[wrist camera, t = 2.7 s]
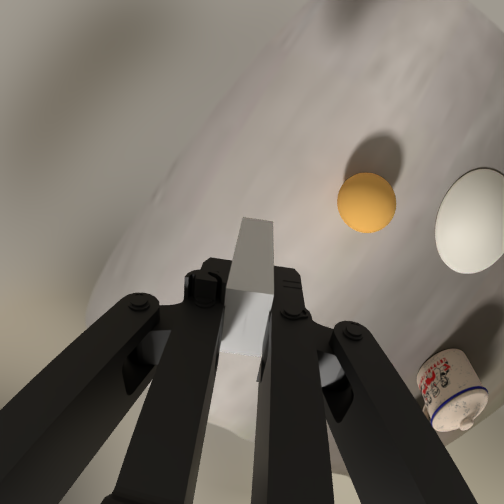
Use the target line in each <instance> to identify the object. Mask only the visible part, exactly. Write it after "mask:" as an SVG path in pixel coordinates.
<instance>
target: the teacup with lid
mask: <svg viewBox="0 0 504 504" xmlns="http://www.w3.org/2000/svg"><path fill="white" fill-rule="evenodd" d="M417 384H418V386H419V389H420V391H421V394H422V396H423V399H424V402H425V405H424V407H423V412H424V414H425V416H426V417H427V419H428V420H429V415H430V418H431V423H430V424H431V425H432V427H433V428H434V429H435V430H437V431H441V432H446V431H452V430H455V429H457V428H460V429H461V430H467V429H469V428H470V427H471V426H472V425H473V419H474V418H475V417H477V416H478V415H479V414H480V413H481V412H482V410H483V409H484V408H485V406H486V404H487V401H488V391H487V389H486V388H485V387H483V385H482V383H481V381H480V380H479V378H478V376H477V374H476V372H475V371H474V369H473V367H472V365H471V364H470V362H469V360H468V358H467V357H466V355H465V353H464V352H463V351H461V350H459V349H447V350H444V351H441V352H439V353H437V354H435V355H434V356H432V357H431V358H430V359H429V360H427V361H426V362H425V363H424V364H423V366H422V367H421V369H420V370H419V372H418V375H417ZM429 422H430V421H429Z"/></svg>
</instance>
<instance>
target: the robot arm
mask: <svg viewBox="0 0 504 504" xmlns="http://www.w3.org/2000/svg"><path fill="white" fill-rule="evenodd" d="M219 351H220V352H226V353H233V354H240V355H247V356H255V357H261V354H262V359H261V363H260V368H259V372H258V377H257V381H256V382H259V387H258V403H257V420H256V436H255V452H254V466H253V481H252V496H251V504H334V494H333V483H332V472H331V462H330V452H329V443H328V434H327V425H326V420H327V422H328V425H329V427H330V430H331V432H332V434H333V437H334V439H335V442H336V444H337V446H338V449H339V451H340V454H341V456H342V458H343V461H344V463H345V466H346V468H347V470H348V473H349V475H350V478H351V480H352V482H353V485H354V487H355V490H356V492H357V495H358V497H359V499H360V502H361V504H478V503H477V502H476V500H475V498H474V496H473V494H472V492H471V491H470V489H469V487H468V485H467V484H466V482H465V480H464V479H463V477H462V475H461V473H460V472H459V470H458V468H457V466H456V465H455V463H454V461H453V460H452V458H451V456H450V455H449V453H448V451H447V450H446V448H445V446H444V445H443V443H442V441H441V440H440V438H439V436H438V435H437V433H436V432H435V430H434V428H433V427H432V425H431V424H430V422H429V420H428V419H427V417H426V416H425V414H424V412H423V411H422V409H421V408H420V406H419V405H418V403H417V401H416V400H415V398H414V397H413V395H412V394H411V392H410V391H409V389H408V388H407V386H406V384H405V383H404V381H403V380H402V378H401V377H400V375H399V374H398V372H397V371H396V369H395V368H394V366H393V365H392V363H391V362H390V360H389V359H388V357H387V356H386V354H385V353H384V351H383V350H382V348H381V347H380V346H379V344H378V343H377V341H376V340H375V338H374V337H373V335H372V334H371V332H370V331H369V330H368V329H367V328H366V327H364V326H363V325H361V324H359V323H356V322H353V321H342V322H339V323H337V324H336V325H335V327H334V329H331V328H328V327H325V326H322V325H320V324H317V323H316V322H314V321H313V320H312V316H311V314H310V312H309V311H308V310H307V309H306V308H305V305H304V298H303V291H302V284H301V277H300V275H299V274H298V272H297V271H296V270H295V269H293V268H286V267H279V266H274V249H273V221H266V220H259V219H252V218H246V217H243V218H242V223H241V227H240V231H239V235H238V239H237V243H236V248H235V252H234V256H233V260H232V261H231V260H224V259H217V258H211V257H210V258H209V259H208V260H206V261H205V262H203V264H202V267H201V269H200V270H194V271H191V272H189V273H188V274H187V275H186V276H185V284H184V300H183V302H182V303H179V304H175V305H159V301H158V300H157V298H156V297H154V296H152V295H150V294H147V293H133V294H129V295H127V296H125V297H123V298H122V299H121V300H120V301H118V302H117V303H116V304H115V305H114V306H113V307H112V308H110V309H109V310H108V311H107V312H106V313H105V314H104V315H102V316H101V317H100V318H99V319H98V320H97V321H96V322H94V323H93V324H92V325H91V326H90V327H89V328H88V329H87V330H85V331H84V332H83V333H82V334H81V335H80V336H79V337H78V338H76V339H75V340H74V341H73V342H72V343H71V344H70V345H69V346H68V347H67V348H65V349H64V350H63V351H62V352H61V353H60V354H59V355H58V356H57V357H56V358H55V359H54V360H52V361H51V362H50V363H49V364H48V365H47V366H46V367H45V368H44V369H43V370H42V371H41V372H40V373H39V374H37V375H36V376H35V377H34V378H33V379H32V380H31V381H30V382H29V383H28V384H27V385H26V386H25V387H24V388H23V389H22V390H21V391H20V392H19V393H18V394H17V395H15V397H13V398H12V399H11V400H10V401H9V402H8V403H7V404H6V405H5V406H4V407H3V409H1V410H0V504H58V503H59V502H60V501H61V500H62V498H63V497H64V496H65V494H66V493H67V492H68V490H69V489H70V488H71V486H72V485H73V484H74V482H75V481H76V480H77V478H78V477H79V476H80V474H81V473H82V471H83V470H84V469H85V467H86V466H87V465H88V464H89V462H90V461H91V460H92V458H93V457H94V456H95V454H96V453H97V452H98V450H99V449H100V447H101V446H102V445H103V444H104V442H105V441H106V440H107V439H108V437H109V436H110V435H111V433H112V432H113V431H114V429H115V428H116V427H117V425H118V424H119V423H120V421H121V420H122V419H123V417H124V416H125V415H126V413H127V412H128V411H129V409H130V408H131V407H132V405H133V404H134V403H135V401H136V400H137V399H138V398H139V396H140V395H141V394H142V392H143V391H144V389H145V388H146V387H147V386H148V384H149V383H150V382H151V380H152V379H153V380H152V382H151V385H150V388H149V390H148V393H147V396H146V399H145V401H144V404H143V407H142V410H141V413H140V415H139V418H138V421H137V424H136V427H135V430H134V432H133V435H132V438H131V441H130V444H129V447H128V450H127V453H126V456H125V459H124V462H123V465H122V468H121V471H120V474H119V477H118V480H117V483H116V486H115V488H114V491H113V492H112V494H110V495H108V496H106V497H105V498H104V499H103V501H102V503H101V504H193V499H194V493H195V487H196V482H197V476H198V470H199V465H200V459H201V453H202V447H203V442H204V437H205V431H206V425H207V420H208V414H209V409H210V404H211V398H212V393H213V387H214V382H215V377H216V371H217V366H218V359H219Z"/></svg>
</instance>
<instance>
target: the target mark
mask: <svg viewBox="0 0 504 504" xmlns="http://www.w3.org/2000/svg"><path fill="white" fill-rule="evenodd" d="M435 241H436V246H437V249H438V252H439V254H440V256H441V258H442V260H443V261H444V262H445V264H446V265H447V266H448V267H450V268H451V269H453V270H454V271H457V272H460V273H466V274H470V273H476V272H479V271H482V270H484V269H486V268H488V267H489V266H491V265H492V264H493V263H495V262H496V261H497V260H498V259H499V258H500V257H501V256H502V254H503V253H504V176H503V175H501V174H500V173H498V172H496V171H493V170H490V169H478V170H474V171H471V172H469V173H467V174H465V175H464V176H462V177H461V178H460V179H459V180H457V181H456V182H455V183H454V184H453V185H452V187H451V188H450V189H449V191H448V192H447V194H446V195H445V197H444V199H443V201H442V203H441V205H440V208H439V211H438V215H437V219H436V225H435Z"/></svg>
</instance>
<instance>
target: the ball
mask: <svg viewBox="0 0 504 504" xmlns="http://www.w3.org/2000/svg"><path fill="white" fill-rule="evenodd" d="M337 205H338V210H339V213H340V216H341V217H342V219H343V220H344V222H345V223H346V224H347V225H348V226H349V227H351V228H352V229H354V230H356V231H359V232H363V233H372V232H376V231H379V230H381V229H383V228H384V227H385V226H387V225H388V224H389V222H390V221H391V220H392V218H393V216H394V213H395V210H396V197H395V194H394V191H393V189H392V187H391V186H390V184H389V183H388V182H387V181H386V180H385V179H384V178H382V177H381V176H379V175H376V174H373V173H359V174H356V175H353V176H352V177H350V178H349V179H347V180H346V181H345V182H344V184H343V185H342V187H341V188H340V191H339V194H338V199H337Z"/></svg>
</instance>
